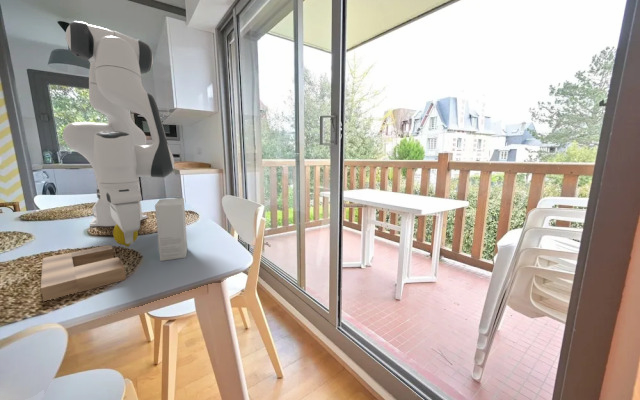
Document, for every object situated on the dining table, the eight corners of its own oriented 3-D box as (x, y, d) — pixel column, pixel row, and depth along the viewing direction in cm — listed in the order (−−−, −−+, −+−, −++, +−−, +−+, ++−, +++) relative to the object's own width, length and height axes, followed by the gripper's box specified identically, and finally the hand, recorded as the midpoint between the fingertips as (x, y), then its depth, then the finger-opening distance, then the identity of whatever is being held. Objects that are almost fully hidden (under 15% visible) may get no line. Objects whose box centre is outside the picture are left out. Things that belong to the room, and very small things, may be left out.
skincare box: (164, 250, 76) (158, 199, 73) (189, 247, 79) (184, 197, 76) (159, 261, 68) (153, 204, 66) (187, 258, 71) (182, 202, 68)
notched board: (45, 269, 64) (42, 257, 63) (111, 254, 73) (110, 244, 72) (43, 302, 50) (40, 288, 49) (126, 279, 59) (124, 267, 59)
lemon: (126, 251, 71) (122, 222, 69) (110, 249, 72) (106, 221, 70) (144, 244, 76) (140, 217, 75) (128, 242, 77) (125, 216, 76)
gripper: (101, 188, 76) (107, 233, 79) (111, 198, 62) (119, 252, 64) (127, 186, 80) (132, 229, 83) (142, 195, 66) (148, 246, 69)
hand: (126, 239), depth 74 cm, fingers closed on lemon, 5 cm apart
